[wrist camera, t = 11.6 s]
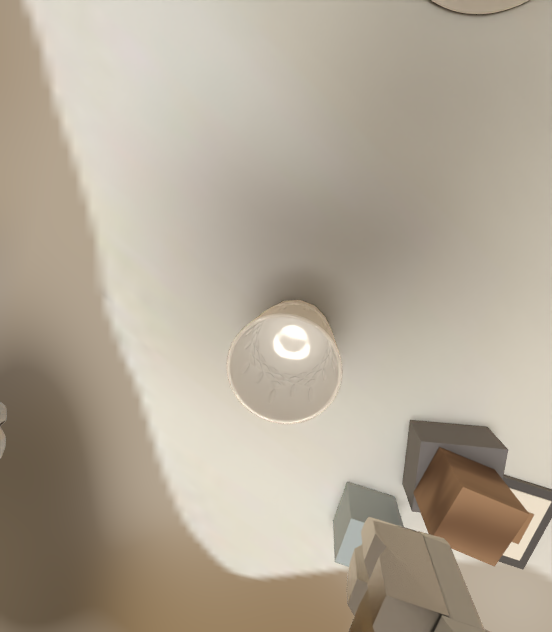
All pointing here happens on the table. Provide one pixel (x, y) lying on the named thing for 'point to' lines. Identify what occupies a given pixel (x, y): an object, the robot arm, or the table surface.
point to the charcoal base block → (453, 438)
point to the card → (528, 520)
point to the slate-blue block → (359, 517)
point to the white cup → (285, 363)
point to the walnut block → (469, 506)
